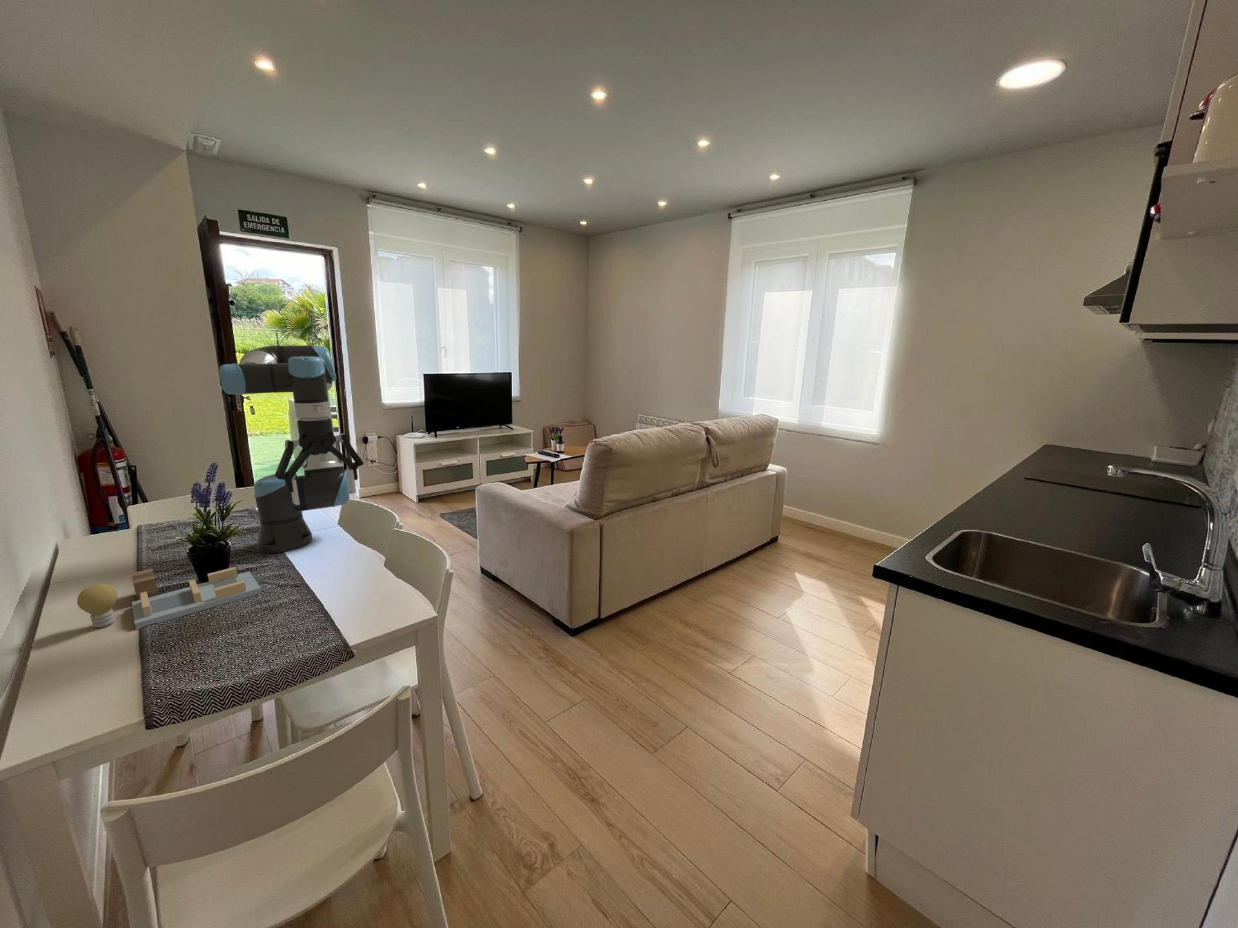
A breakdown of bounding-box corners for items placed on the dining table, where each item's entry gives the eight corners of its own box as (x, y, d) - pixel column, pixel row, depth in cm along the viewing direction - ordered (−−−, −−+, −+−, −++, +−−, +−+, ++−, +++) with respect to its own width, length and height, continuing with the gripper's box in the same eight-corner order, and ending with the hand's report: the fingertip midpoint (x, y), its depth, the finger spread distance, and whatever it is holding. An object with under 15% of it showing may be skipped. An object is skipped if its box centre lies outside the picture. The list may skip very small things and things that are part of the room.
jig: (133, 607, 123) (129, 592, 122) (250, 576, 139) (248, 563, 138) (136, 629, 113) (132, 613, 112) (261, 592, 130) (258, 579, 129)
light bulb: (85, 635, 111) (73, 595, 108) (84, 625, 115) (73, 586, 112) (124, 624, 115) (114, 585, 113) (122, 614, 119) (113, 576, 117)
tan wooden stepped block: (137, 594, 129) (131, 573, 128) (157, 588, 132) (152, 568, 131) (138, 605, 124) (133, 583, 123) (160, 599, 127) (154, 578, 125)
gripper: (259, 426, 114) (274, 512, 119) (370, 414, 132) (379, 490, 137) (251, 422, 119) (265, 505, 124) (359, 412, 137) (368, 485, 142)
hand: (325, 497), depth 130 cm, fingers open, 13 cm apart
